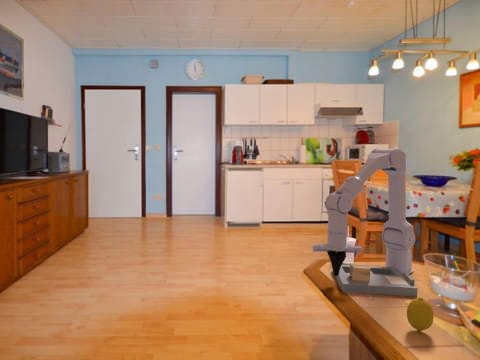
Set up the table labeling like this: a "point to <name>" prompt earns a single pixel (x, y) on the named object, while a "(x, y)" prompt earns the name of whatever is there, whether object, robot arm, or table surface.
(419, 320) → the lemon
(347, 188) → the robot arm
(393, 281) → the pad
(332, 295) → the table surface
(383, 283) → the platform
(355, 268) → the block
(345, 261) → the beverage cup
